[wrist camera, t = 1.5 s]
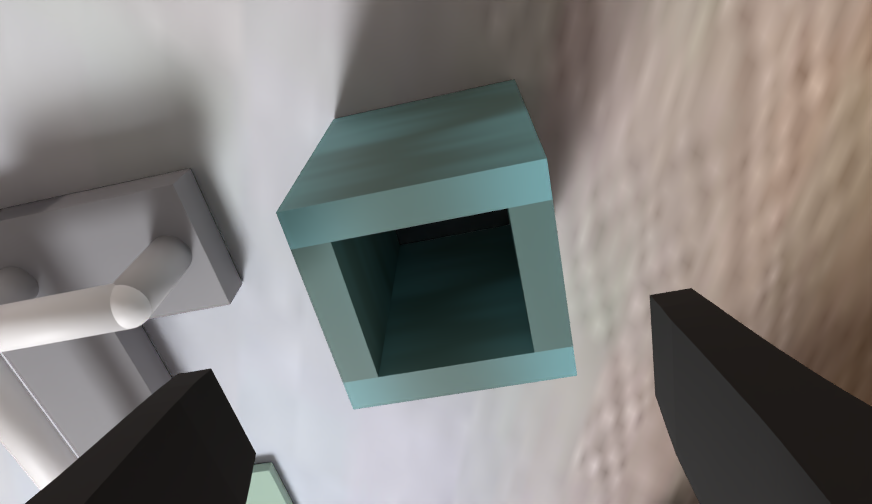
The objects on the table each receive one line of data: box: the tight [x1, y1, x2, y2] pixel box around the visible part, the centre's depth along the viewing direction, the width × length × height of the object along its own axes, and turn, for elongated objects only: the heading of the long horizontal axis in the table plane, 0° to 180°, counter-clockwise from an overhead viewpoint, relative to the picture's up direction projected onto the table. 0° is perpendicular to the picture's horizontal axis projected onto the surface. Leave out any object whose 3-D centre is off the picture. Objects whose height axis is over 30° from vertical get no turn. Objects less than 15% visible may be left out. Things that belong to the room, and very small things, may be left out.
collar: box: [276, 79, 577, 409], centre depth 14 cm, size 5×5×6 cm
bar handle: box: [0, 169, 242, 491], centre depth 18 cm, size 8×12×4 cm
